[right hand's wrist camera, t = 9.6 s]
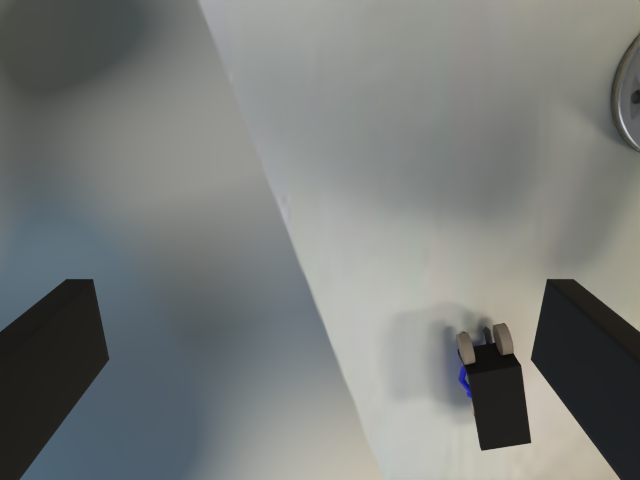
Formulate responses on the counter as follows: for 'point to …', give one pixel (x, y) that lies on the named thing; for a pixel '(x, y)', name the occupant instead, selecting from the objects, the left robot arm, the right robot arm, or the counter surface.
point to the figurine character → (495, 389)
